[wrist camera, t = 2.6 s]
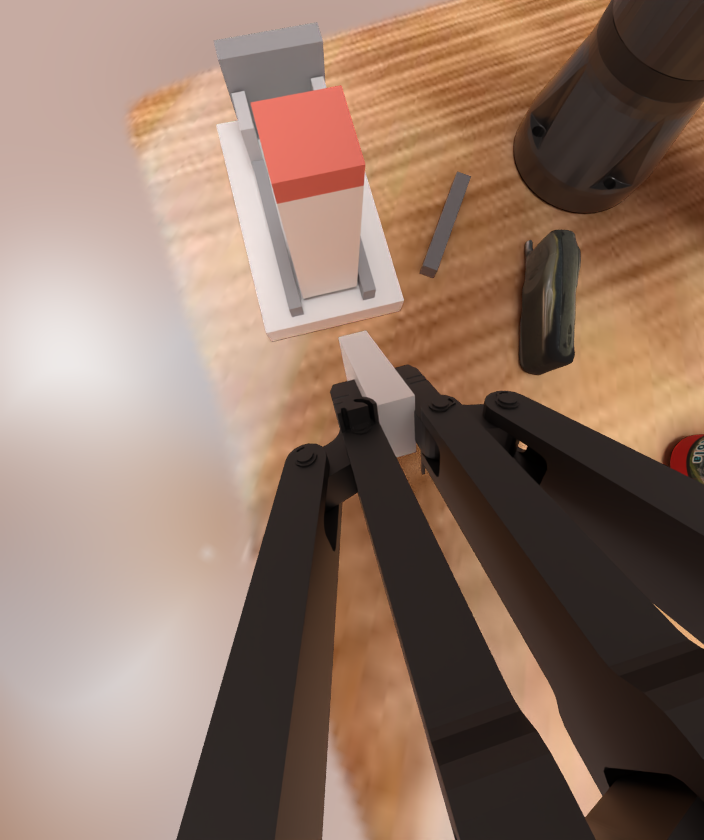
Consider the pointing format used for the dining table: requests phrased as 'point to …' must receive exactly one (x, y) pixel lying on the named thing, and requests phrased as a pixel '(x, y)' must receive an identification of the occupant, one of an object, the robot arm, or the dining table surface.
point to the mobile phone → (549, 303)
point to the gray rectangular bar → (445, 225)
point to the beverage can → (689, 457)
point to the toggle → (315, 184)
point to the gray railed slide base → (255, 201)
